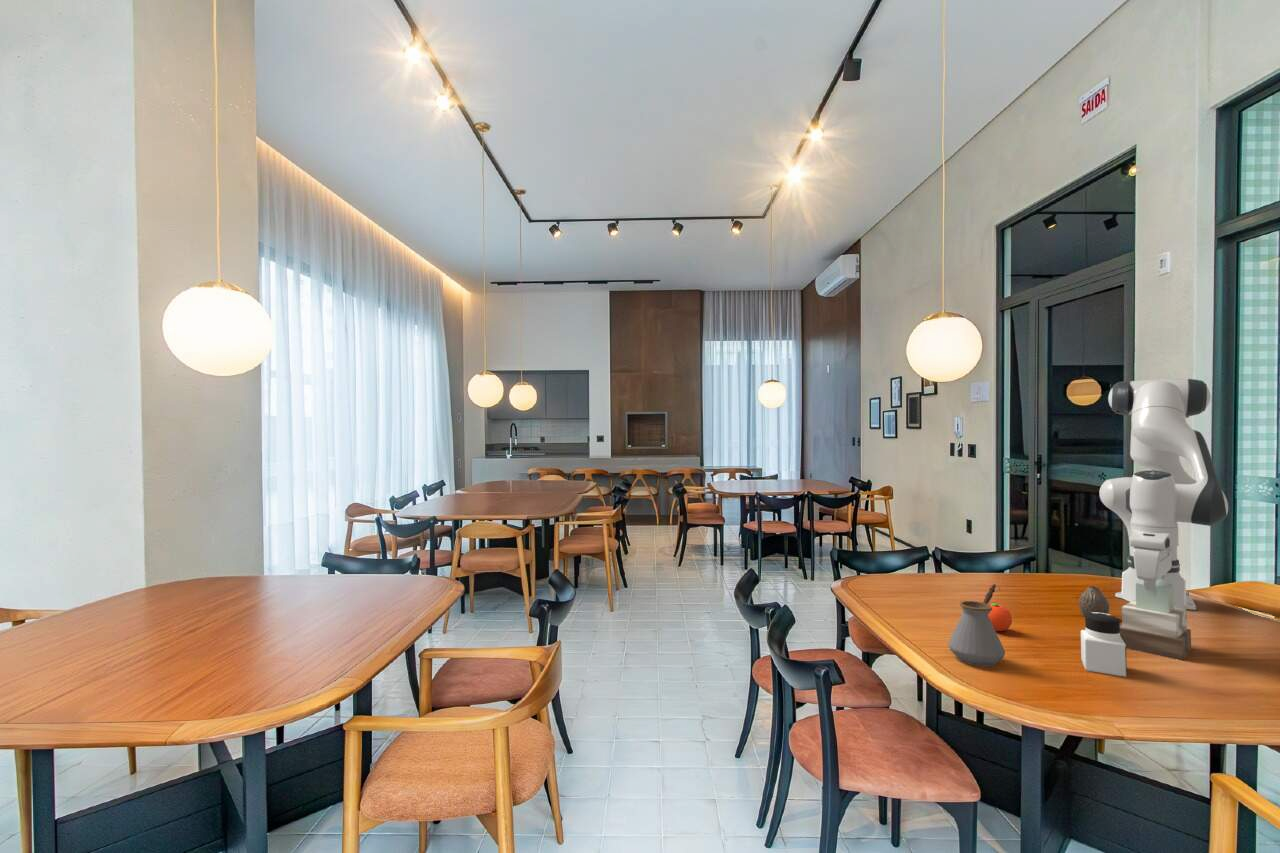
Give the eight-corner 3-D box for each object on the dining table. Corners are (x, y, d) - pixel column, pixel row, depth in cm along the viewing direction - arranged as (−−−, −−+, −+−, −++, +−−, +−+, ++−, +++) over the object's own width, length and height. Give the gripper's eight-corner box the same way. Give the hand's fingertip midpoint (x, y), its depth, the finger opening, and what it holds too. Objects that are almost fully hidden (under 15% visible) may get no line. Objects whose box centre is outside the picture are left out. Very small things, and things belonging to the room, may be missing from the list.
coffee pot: (996, 674, 124) (995, 605, 125) (940, 659, 133) (939, 595, 133) (1023, 649, 139) (1022, 588, 139) (971, 637, 147) (970, 579, 148)
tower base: (1127, 636, 148) (1127, 617, 148) (1191, 650, 139) (1190, 629, 139) (1115, 647, 141) (1115, 627, 141) (1182, 662, 131) (1181, 640, 132)
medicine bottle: (1127, 677, 122) (1125, 621, 123) (1085, 670, 126) (1084, 616, 126) (1120, 666, 128) (1119, 613, 129) (1081, 660, 132) (1080, 608, 132)
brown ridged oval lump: (1115, 622, 159) (1114, 590, 159) (1087, 620, 160) (1086, 589, 160) (1100, 614, 166) (1100, 584, 166) (1073, 613, 167) (1073, 583, 167)
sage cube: (1141, 603, 144) (1141, 579, 144) (1173, 608, 140) (1173, 584, 140) (1136, 607, 141) (1135, 583, 141) (1168, 613, 136) (1168, 588, 136)
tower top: (1134, 619, 147) (1133, 600, 147) (1186, 629, 139) (1186, 609, 139) (1122, 627, 141) (1121, 606, 141) (1176, 638, 133) (1175, 617, 133)
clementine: (974, 625, 157) (974, 599, 157) (1000, 625, 157) (1000, 599, 157) (990, 635, 149) (990, 607, 149) (1018, 635, 149) (1017, 608, 149)
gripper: (1146, 530, 149) (1147, 583, 149) (1127, 540, 136) (1129, 597, 136) (1178, 533, 144) (1180, 588, 144) (1163, 543, 132) (1164, 603, 131)
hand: (1155, 593), depth 140 cm, fingers open, 8 cm apart
